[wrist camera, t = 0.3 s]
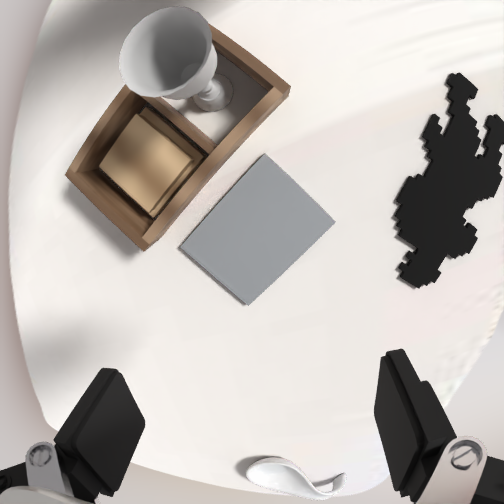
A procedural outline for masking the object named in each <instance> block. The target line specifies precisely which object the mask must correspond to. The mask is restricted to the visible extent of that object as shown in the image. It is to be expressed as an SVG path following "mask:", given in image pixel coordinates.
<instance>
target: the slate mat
mask: <svg viewBox="0 0 504 504" xmlns="http://www.w3.org/2000/svg"><path fill="white" fill-rule="evenodd" d="M334 223H335V221H334V220H333V219H332V218H331V216H330V215H329V214H328V213H327V212H326V211H325V210H324V209H323V208H322V207H321V206H320V205H319V204H318V203H317V202H316V201H315V200H314V199H313V198H312V197H310V196H309V195H308V194H307V193H306V192H305V191H304V190H303V189H302V188H301V187H300V186H299V185H298V184H297V183H296V182H295V181H294V180H293V179H292V178H291V177H290V176H289V175H288V174H287V173H286V172H284V171H283V170H282V169H281V168H280V167H279V166H278V165H277V164H276V163H275V162H274V161H273V160H272V159H270V158H269V157H268V156H267V155H266V154H264V155H263V156H262V157H261V158H260V159H259V160H258V161H257V162H256V163H255V164H254V165H253V166H252V167H251V168H250V169H249V170H248V172H247V173H246V174H245V175H244V176H243V177H242V178H241V179H240V180H239V181H238V182H237V183H236V185H235V186H234V187H233V188H232V189H231V190H230V191H229V192H228V193H227V194H226V195H225V197H224V198H223V199H222V200H221V201H220V202H219V203H218V204H217V205H216V207H215V208H214V209H213V210H212V211H211V212H210V213H209V214H208V216H207V217H206V218H205V219H204V220H203V221H202V222H201V224H200V225H199V226H198V227H197V228H196V229H195V230H194V232H193V233H192V234H191V235H190V236H189V237H188V238H187V240H186V241H185V242H184V243H183V244H182V245H181V248H182V249H183V250H184V251H185V252H186V253H187V254H189V255H190V256H191V257H192V258H193V259H194V260H195V261H197V262H198V263H199V264H200V265H201V266H202V267H203V268H205V269H206V270H207V271H208V272H209V273H210V274H211V275H213V276H214V277H215V278H216V279H217V280H218V281H220V282H221V283H222V284H223V285H224V286H225V287H227V288H228V289H229V290H230V291H231V292H232V293H234V294H235V295H236V296H237V297H238V298H240V299H241V300H242V301H243V302H244V303H245V304H247V305H248V306H249V305H250V304H251V303H252V302H253V301H254V300H255V299H256V298H257V297H258V296H259V295H260V294H262V293H263V292H264V291H265V290H266V289H267V288H268V287H269V286H270V285H271V284H272V283H273V282H274V281H275V280H276V279H277V278H279V277H280V276H281V275H282V274H283V273H284V272H285V271H286V270H287V269H288V268H289V267H290V266H291V265H292V264H293V263H294V262H295V261H296V260H297V259H298V258H299V257H301V256H302V255H303V254H304V253H305V252H306V251H307V250H308V249H309V248H310V247H311V246H312V245H313V244H314V243H315V242H316V241H317V240H318V239H319V238H320V237H321V236H322V235H323V234H324V233H325V232H326V231H327V230H328V229H329V228H330V227H331V226H332V225H333V224H334Z"/></svg>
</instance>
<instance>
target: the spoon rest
mask: <svg viewBox="0 0 504 504" xmlns="http://www.w3.org/2000/svg"><path fill="white" fill-rule="evenodd" d="M346 476H347V475H346V473H343V474H341V475H339V476H338V477H337V478H335V479H334V480H333V490H332V491H330V492H322V491H319V490H318V489H316V488H315V487H314V486H313V485H312V483H311V482H310V481H309V479H308V478H307V477H306V475H305V474H304V473H303V471H302V470H301V469H300V468H299V467H298V466H297V465H296V464H295V463H293V462H292V461H290V460H287V459H284V458H276V457H272V458H265V459H262V460H259V461H257V462H255V463H254V464H252V465H251V466H250V467H249V468H248V469H247V470H246V477H247V478H248V479H249V480H250V481H251V482H252V483H254V484H256V485H258V486H260V487H263V488H267V489H270V490H274V491H278V492H282V493H286V494H290V495H294V496H298V497H303V498H307V499H313V500H324V499H327V498H330V497H332V496H333V495H334V494H336V493H338V492H339V491H341V490H342V488H343V487H344V485H345V483H346Z"/></svg>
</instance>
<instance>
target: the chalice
mask: <svg viewBox="0 0 504 504" xmlns="http://www.w3.org/2000/svg"><path fill="white" fill-rule="evenodd" d="M216 67H217V54H216V51H215V48H214V46H213V44H212V33H211V30H210V27H209V25H208V22H207V21H206V20H205V19H204V18H203V16H202V15H201V14H200V13H199V12H196V11H194V10H192V9H189V8H187V7H173V6H172V7H168V8H164V9H160V10H157V11H155V12H153V13H151V14H150V15H148V16H146V17H144V18H143V19H142V20H141V21H140V22H139V23H138V24H136V25H135V26H134V27H133V28H132V30H131V31H130V33H129V34H128V36H127V37H126V39H125V40H124V43H123V46H122V49H121V51H120V58H119V69H120V73H121V77H122V80H123V81H124V82H125V84H126V85H127V86H128V88H129V89H130V90H132V91H134V92H135V93H137V94H139V95H141V96H148V97H159V96H163V97H165V98H168V99H174V100H180V99H186V98H189V97H191V96H193V99H194V102H195V104H196V105H197V106H198V107H199V108H201V109H202V110H204V111H209V112H213V111H218V110H221V109H223V108H224V107H225V106H227V105H228V103H229V102H230V101H231V99H232V95H233V87H232V84H231V82H230V81H229V80H228V78H227V77H225V76H223V75H221V74H216V73H215V70H216Z"/></svg>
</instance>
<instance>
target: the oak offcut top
mask: <svg viewBox="0 0 504 504" xmlns="http://www.w3.org/2000/svg"><path fill="white" fill-rule="evenodd" d="M193 161H194V159H193V158H192V157H191V156H190V155H189V154H187V153H186V152H185V151H184V150H183V149H182V148H180V147H179V146H178V145H177V144H176V143H175V142H173V141H172V140H171V139H170V138H169V137H168V136H167V135H165V134H164V133H163V132H162V131H161V130H159V129H158V128H157V127H156V126H155V125H154V124H152V123H151V122H150V121H149V120H148V119H147V118H145V117H144V116H143V115H140V114H135V116H134V117H133V118H132V120H131V121H130V122H129V124H128V125H127V126H126V128H125V129H124V130H123V132H122V133H121V134H120V136H119V137H118V139H117V140H116V142H115V143H114V144H113V146H112V147H111V149H110V150H109V152H108V153H107V155H106V156H105V158H104V159H103V161H102V162H101V164H100V165H99V167H100V168H101V169H102V170H103V171H105V172H106V173H107V174H108V175H109V176H110V177H111V178H112V179H113V180H114V181H115V182H116V183H117V184H118V185H119V186H121V187H122V188H123V189H124V190H125V191H126V192H127V193H128V194H129V195H130V196H131V197H132V198H133V199H135V200H136V201H137V202H138V203H139V204H140V205H141V206H142V207H143V208H144V209H146V210H147V211H148V212H151V211H153V210H154V209H155V208H156V207H157V206H158V204H159V203H160V202H161V201H162V199H163V198H164V197H165V196H166V194H167V193H168V192H169V190H170V189H171V188H172V187H173V185H174V184H175V183H176V182H177V181H178V179H179V178H180V177H181V176H182V174H183V173H184V172H185V171H186V170H187V168H188V167H189V166H190V165H191V164H192V162H193Z"/></svg>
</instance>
